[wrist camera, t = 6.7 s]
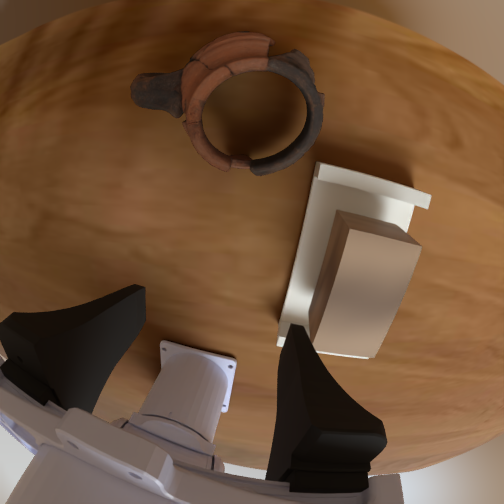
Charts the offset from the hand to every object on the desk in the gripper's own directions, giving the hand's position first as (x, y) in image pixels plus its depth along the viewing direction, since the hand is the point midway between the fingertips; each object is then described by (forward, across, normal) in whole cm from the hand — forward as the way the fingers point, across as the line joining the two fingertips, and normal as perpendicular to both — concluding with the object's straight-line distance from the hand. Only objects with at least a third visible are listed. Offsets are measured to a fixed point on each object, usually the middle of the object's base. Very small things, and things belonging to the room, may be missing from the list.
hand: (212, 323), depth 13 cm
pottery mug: (+10, +3, -11) cm, 15 cm away
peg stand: (+10, -8, -1) cm, 13 cm away
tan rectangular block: (+8, -8, -1) cm, 11 cm away
